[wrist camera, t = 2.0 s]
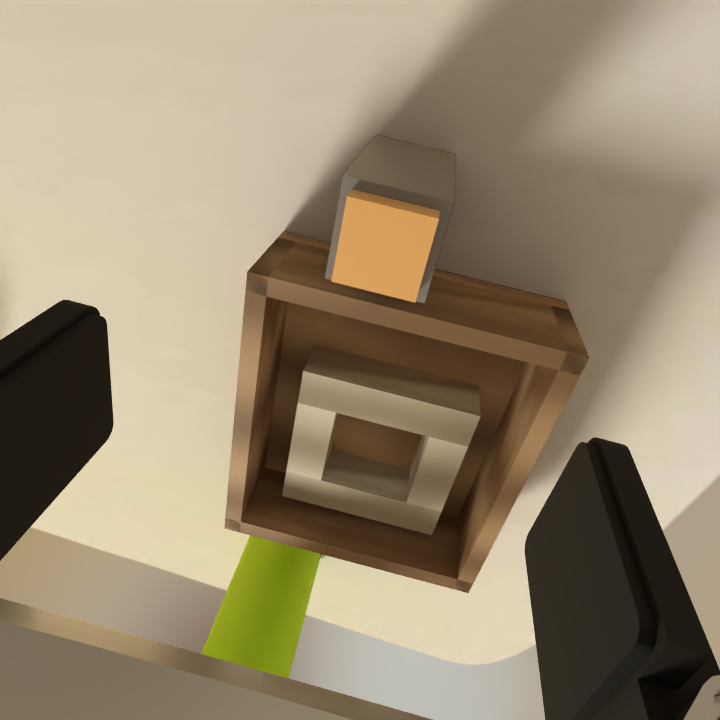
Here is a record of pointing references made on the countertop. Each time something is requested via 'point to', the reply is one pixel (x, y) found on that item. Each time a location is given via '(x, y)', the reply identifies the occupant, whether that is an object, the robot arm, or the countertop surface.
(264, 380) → the crate
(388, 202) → the plug
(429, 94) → the countertop surface
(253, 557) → the soap dispenser
